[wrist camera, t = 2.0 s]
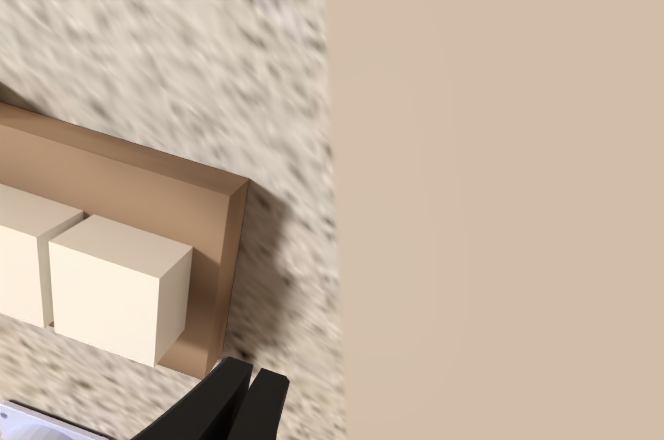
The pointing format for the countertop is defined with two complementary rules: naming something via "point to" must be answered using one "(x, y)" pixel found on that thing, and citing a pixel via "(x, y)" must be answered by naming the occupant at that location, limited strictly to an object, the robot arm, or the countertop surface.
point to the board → (139, 210)
